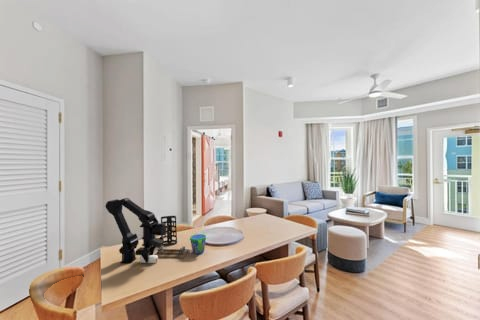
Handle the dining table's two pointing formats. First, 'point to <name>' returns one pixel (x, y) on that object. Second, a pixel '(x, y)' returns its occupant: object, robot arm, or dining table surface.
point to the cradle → (172, 252)
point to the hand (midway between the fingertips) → (149, 260)
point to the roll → (151, 259)
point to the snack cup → (198, 243)
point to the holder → (169, 228)
